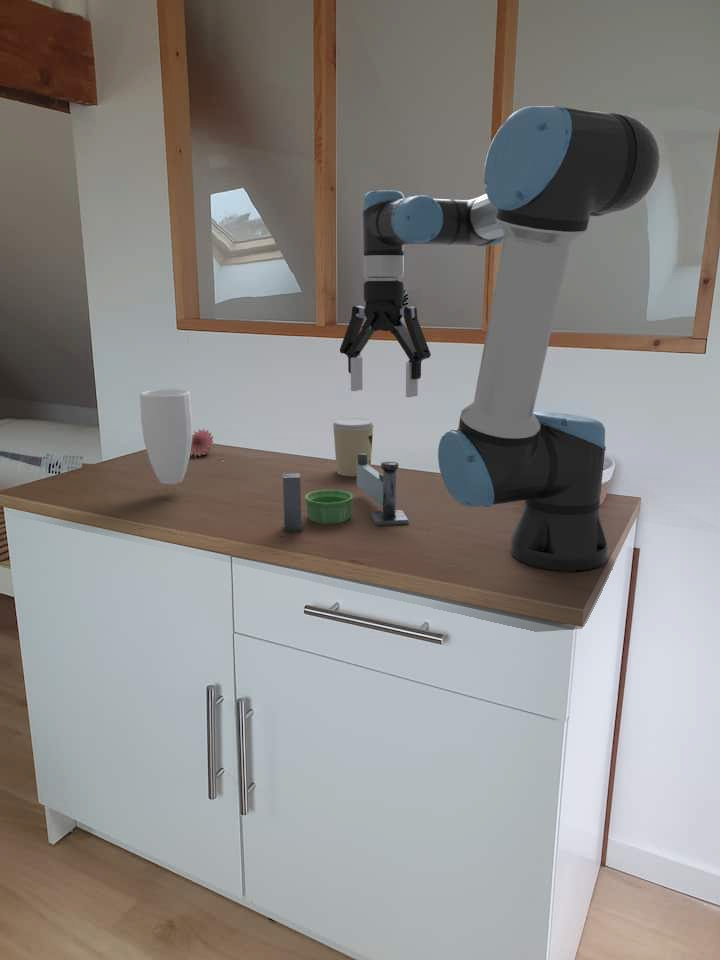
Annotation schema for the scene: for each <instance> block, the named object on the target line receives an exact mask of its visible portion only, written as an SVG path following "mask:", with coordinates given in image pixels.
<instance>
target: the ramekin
mask: <svg viewBox="0 0 720 960" xmlns="http://www.w3.org/2000/svg"><path fill="white" fill-rule="evenodd" d="M304 499H305V502H306V509H307V510H306V512H307V517H308V519H309V521H311V522H313V523H317V524H322V525H334V524H335V525H337V524H340V523H341V524H343V523H345V522H347V521H348V520H349V519H351V514H352V502H353V499H354V496H353V494H352V493H351V492H349V491H345V490H342V489H341V490H339V489H320V490H319V489H318V490H315V491H314V490H313V491H310V492H308V493H306V495H305V497H304Z"/></svg>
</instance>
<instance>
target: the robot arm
mask: <svg viewBox="0 0 720 960" xmlns="http://www.w3.org/2000/svg"><path fill="white" fill-rule="evenodd" d="M659 153H660V151H659V147H658V143H657V141H656V138H655V136H654V134H653V133H652V131H651V130H650V129H649V128H648V127H647V125H645V124H644V123H643V122H642V121H641V120H638V119H637V118H634V117H633V116H630V115H628V114H623V113H622V114H621V113H615V112H612V113H611V112H610V113H609V112H604V111H603V112H602V111H592V110H586V109H578V108H577V109H575V108H569V107H563V106H558V105H553V106H552V105H551V106H549V105H546V106H543V105H542V106H541V105H540V106H538V105H534V106H533V105H532V106H531V105H530V106H525V107H522V108H520V109H518V110H517V111H514V112H513V113H512V114H510V115H509V116H508V118H507V119H506V120H505V122H504V123H502V124H501V125H500V127H499V129H497V132H496V133H495V135H494V137H493V138H492V141H491V143H490V146H489V149H488V151H487V155H486V159H485V163H484V169H483V170H484V171H483V183H484V184H485V185H486V187H485V189H484V192H485V194H483V195H481V196H478V197H475V198H472V199H449V198H448V199H444V198H432V197H430V196H428V195H414V194H413V195H409V196H408V197H405V195H404V194H403V192H401V191H399V190H390V189H389V190H387V189H385V190H383V189H382V190H371V191H368V192H367V193H366V194H365V195H364V197H363V210H362V220H363V221H362V224H363V225H362V227H363V228H362V229H363V230H362V232H363V236H362V237H363V270H362V271H363V275H362V277H363V278H364V279H366V281H364V283H363V300H364V301H365V306H364V305H354V306H352V307H351V317H350V320H349V323H348V324H347V325H348V326H347V329H346V331H345V334H344V336H343V339H342V342H341V345H340V348H339V352H340V354H343V355H345V356H346V357H347V360H348V361H347V362H348V363H347V365H348V368H347V370H348V373H349V374H350V391H351V392H358V391H362V390H363V357H362V354H361V352H362V351H363V350H364V348H365V346H366V345H367V344H368V342H369V340H370V339H371V338H372V336H373V335H374V333H375V332H376V331H383V332H390V333H391V334H393V335H394V337H395V339H396V340H397V342H398V344H399V345H400V347H401V348H402V350H403V351H404V353H405V355H406V356H407V358H408V361H406V362H405V364H406V365H405V398H413V397H417V396H418V393H419V392H418V391H419V387H418V384H419V383H418V382H419V380H420V379H421V376H422V362H423V361H424V360H427V359H429V358H431V356H432V355H431V354H432V353H431V351H430V349H429V346H428V343H427V340H426V337H425V335H424V333H423V329H422V328H421V325H420V322H419V320H418V309H417V307H416V306H405V307H404V308H403V300H404V296H405V295H404V294H405V293H404V291H405V289H404V287H405V286H404V284H405V283H404V281H401V279H402V278H404V274H405V273H404V272H405V271H404V270H405V269H404V268H405V267H404V265H405V259H404V258H405V257H404V256H405V245H442V246H443V245H448V246H449V245H462V246H464V245H465V246H477V247H485V246H493V245H498V244H500V243H501V242H502V245H501V251H500V256H499V262H498V266H497V267H498V268H497V272H496V278H495V283H494V289H493V295H492V300H491V306H490V311H489V317H488V322H487V328H486V331H485V332H486V333H485V338H484V344H483V351H482V353H481V354H482V355H481V359H480V360H481V361H480V364H479V365H480V366H479V372H478V376H477V382H476V387H475V392H474V393H475V394H474V398H473V402H472V403H470V404H469V405H467V406H465V407H464V408H463V409H462V410H461V413H460V416H459V422H458V428H457V429H450V430H449V431H447V432H445V433H444V434H443V435H442V436H441V437H440V440H439V443H438V448H437V449H438V450H437V461H438V467H439V471H440V475H441V478H442V481H443V484H444V486H445V488H446V490H447V492H448V493H449V495H450V496H451V498H452V499H454V501H456V502H457V503H458V504H459V505H462V506H464V507H468V508H476V507H485V508H486V507H487V508H489V507H491V506H493V505H499V504H501V505H502V504H507V503H515V502H521V501H524V502H523V503H524V505H523V509H522V511H521V514H520V517H519V519H518V521H517V523H516V526H515V527H514V528H515V529H514V531H513V533H512V536H511V542H510V544H511V545H510V553H511V555H512V556H513V557H514V559H516V560H518V561H520V562H522V563H524V564H526V565H529V566H532V567H535V568H539V569H543V568H544V570H549V569H550V571H556V570H557V571H558V570H560V571H558V572H577V571H576V570H583V571H588V570H587V569H590V570H593V568H594V569H596V568H597V569H598V568H600V567H601V566H604V564H605V563H606V562H607V556H608V543H607V539H606V535H605V531H604V526H603V523H602V519H601V515H600V505H601V494H602V483H603V473H604V472H603V471H604V462H605V452H606V450H607V449H606V448H607V447H606V428H605V426H604V425H603V423H602V422H601V421H600V420H597V419H595V418H591V417H589V416H588V417H586V416H582V415H577V414H570V413H563V412H556V411H548V410H547V411H544V410H535V411H534V409H535V406H536V401H537V396H538V392H539V387H540V383H541V378H542V374H543V370H544V365H545V360H546V356H547V350H548V349H549V348H548V347H549V343H550V340H551V339H550V338H551V333H552V329H553V325H554V320H555V317H556V312H557V308H558V303H559V299H560V295H561V291H562V290H561V289H562V286H563V281H564V276H565V271H566V267H567V263H568V258H569V255H570V250H571V245H572V244H573V243H574V242H575V241H576V240H577V239H579V238H580V237H581V236H583V235H584V234H586V233H587V230H588V227H589V226H588V225H589V222H590V218H591V217H600V216H605V215H608V214H612V213H615V212H616V213H617V212H622V211H624V210H626V209H628V208H631V207H633V206H635V205H636V204H637V203H638V202H640V201H641V200H642V199H643V198H644V197H646V195H647V194H648V193H649V191H650V190H651V188H652V186H653V185H654V183H655V180H656V178H657V174H658V171H659V167H660V154H659ZM365 317H366V320H365V321H364V319H365ZM401 319H404V323H403V321H402V320H401ZM406 328H407V330H406Z"/></svg>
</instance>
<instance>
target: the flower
mask: <svg viewBox="0 0 720 960" xmlns="http://www.w3.org/2000/svg"><path fill="white" fill-rule="evenodd" d="M193 432H194V434H192V444H191V451H190V456H191V457H192V456H193V455H194V457H195V458H197V456H199V457H202V456H203V455H204V456H205V455H207V454H208V453H209V452H211V450H212V448H213V443H214V439H213V438H214V436H213V435H212V432H209V429H205V428H202V430H201V429H199V428H198V431H195V430H194V431H193Z"/></svg>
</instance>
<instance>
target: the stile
mask: <svg viewBox="0 0 720 960" xmlns="http://www.w3.org/2000/svg"><path fill="white" fill-rule="evenodd" d="M301 488H302V487H301V475H300V472H293V473H292V472H291V473H282V502H283V505H282V506H283V527H284V533H292V532H295V533H296V532H302V494H301V491H302V490H301Z"/></svg>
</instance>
